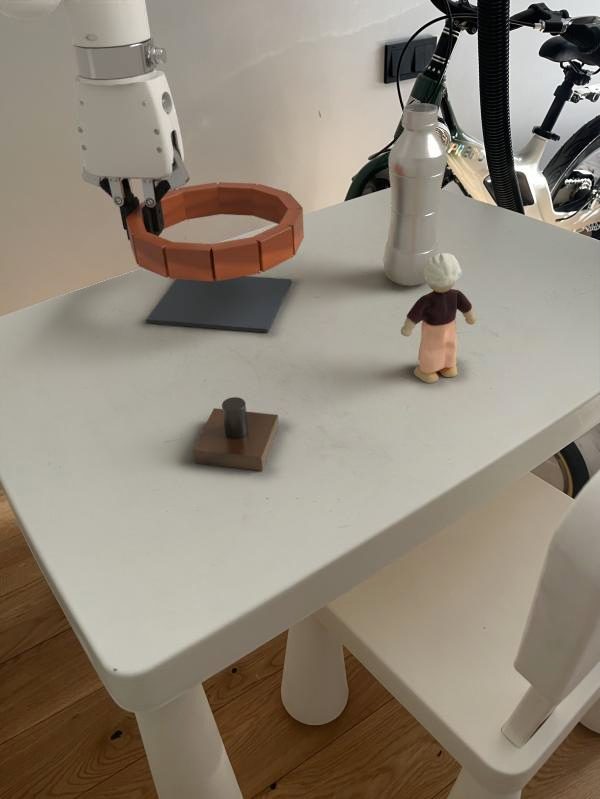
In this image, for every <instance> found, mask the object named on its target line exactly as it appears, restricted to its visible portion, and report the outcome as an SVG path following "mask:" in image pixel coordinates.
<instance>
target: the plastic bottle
mask: <svg viewBox="0 0 600 799" xmlns="http://www.w3.org/2000/svg"><path fill="white" fill-rule="evenodd" d="M438 107H439V106H438V105H435V104H431V103H424V102H422V103H421V102H420V103H419V102H418V103H417V102H416V103H410V104H407V105H404V106H403V112H402V120H401V126H402V128H403V131H402V132H401V134H400V135H399V136H398V138H397V139H396V141H395V142H394V144H393V146H392V147H391V149H390V151H389V154H388V174H389V184H390V205H391V206H390V220H389V228H388V234H387V241H386V244H385V247H384V252H383V258H382V261H383V262H382V263H383V270H384V273H385V275H386V276H387V278H388V279H389V280H390V281H391V282H393V283H395V284H397V285H401V286H418V285H423V284H425V283H427V282H426V280H425V276H424V273H423V271H424V268H425V264H426V262H427V260H428V259H429V258H430V257H432V256H434V255H436V254H437V253H439V248H438V242H437V221H438V220H437V218H438V217H437V216H438V215H437V214H438V208H439V207H438V206H439V204H440V194H441V189H442V185H443V180H444V176H445V172H446V168H447V163H448V162H447V161H448V156H447V150H446V147H445V145H444V144H443V141H442V139H441V138H440V136H439V134H438V133H437V132H436V128H437V127H438V125H439V120H438V114H439V113H438V112H439V108H438Z"/></svg>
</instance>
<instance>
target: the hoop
mask: <svg viewBox="0 0 600 799" xmlns="http://www.w3.org/2000/svg"><path fill="white" fill-rule="evenodd" d="M161 205H162V212H163V218H164V229H163V230H165V229H167V228H170V227H172V226H175V225H177V224H180V223H182V222H185V221H188V220H194V219H199V218H206V217H211V216H219V215H226V216H227V215H229V216H249V217H256V218H259V219H262V220H264V221H268V222H271V223H273V224H276V225H274V226H272V227H270V228H268V229H266V230H263V231H262V232H260V233H257V234H254V235H253V236H251V237H245V238H237V239H233V240H226V241H221V242H220V241H219V242H213V243H200V242H180V241H171V240H169V239H166V238H164V237H162V236H160V235H159V236H156V235H154V234H151V233H148V232H147V231H146V229H145V224H144V218H143V215H142V208H143V207H144V206H145V202H144V201H142V202H140V205H139V206H138V207H137V208H136V209H135V210H134V211H133V212H132V213H131V214H130V215H129V216H128V217H127V219H126V222H127V227H128V233H129V238H130V240H129V243H130V248H131V251H132V254H133V258H134V260H135V263H136V265H138V267H140V268H142V269H145V270H147V271H149V272H152V273H153V274H156V275H158V276H160V277H163V278H165V279H167V278H169V279H170V280H176V279H182V280H198V281H213V280H214V278H215V280H216V281H221V280H227V279H232V278H238V277H243V276H253V275H258V274H259V275H260V274H261V272H262V273H265V272H266V271H269V270H270V269H273V268H274V267H276V266H278V265H280V264H282V263H285V262H286V261H289V260H290V259H293V257H294V256H296V254H297V252H298V250H299V248H300V246H301V244H302V242H303V240H304V238H305V235H304V234H305V231H304V208H303V206H302V205H301V204H300V203H299V201H297V199H296V198H295V197H294V196H293V195H292V194H291V193H289V192H288V191H285V190H282V189H279V188H274V187H271V186H268V185H264V184H261V183H259V184H257V183H252V182H251V183H249V182H225V181H224V182H221V181H220V182H218V183H217V182H209V183H204V184H196V185H190V186H181V187H178V188H175V189H173V190H169V191H168V192H167V193H166V194H165V195H164V197H163V198H162V199H161Z"/></svg>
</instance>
